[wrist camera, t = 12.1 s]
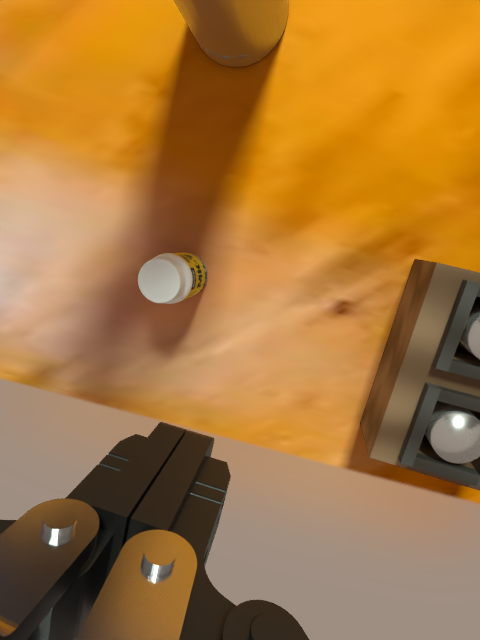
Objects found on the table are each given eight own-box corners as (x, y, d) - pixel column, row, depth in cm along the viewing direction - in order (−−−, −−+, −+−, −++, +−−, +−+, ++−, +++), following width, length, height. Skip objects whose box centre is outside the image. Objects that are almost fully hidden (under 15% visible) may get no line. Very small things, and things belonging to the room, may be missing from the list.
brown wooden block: (414, 258, 39) (440, 263, 31) (544, 289, 37) (605, 302, 29) (360, 423, 43) (371, 463, 35) (475, 456, 41) (513, 506, 34)
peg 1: (419, 380, 39) (441, 408, 33) (465, 392, 39) (496, 423, 32) (405, 419, 40) (424, 454, 34) (449, 432, 40) (477, 469, 33)
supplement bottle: (215, 286, 43) (193, 297, 34) (177, 302, 44) (146, 316, 36) (197, 244, 42) (170, 245, 34) (159, 261, 43) (124, 266, 35)
